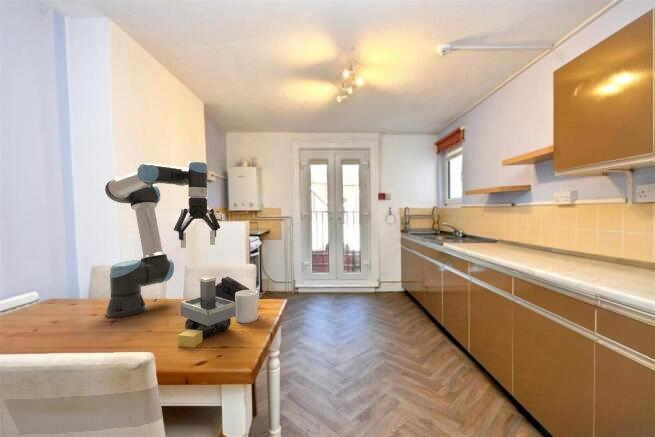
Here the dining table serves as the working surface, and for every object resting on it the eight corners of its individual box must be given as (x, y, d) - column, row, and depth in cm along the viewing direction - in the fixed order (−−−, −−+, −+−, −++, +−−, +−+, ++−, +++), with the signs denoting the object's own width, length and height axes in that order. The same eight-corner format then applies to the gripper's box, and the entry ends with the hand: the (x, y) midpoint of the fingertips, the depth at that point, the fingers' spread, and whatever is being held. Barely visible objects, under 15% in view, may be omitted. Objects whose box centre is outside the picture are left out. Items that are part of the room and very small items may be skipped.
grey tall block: (199, 306, 112) (199, 278, 112) (209, 303, 116) (209, 276, 116) (206, 308, 110) (205, 279, 110) (216, 305, 114) (216, 277, 113)
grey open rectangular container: (179, 331, 113) (179, 302, 113) (209, 321, 124) (209, 294, 123) (206, 343, 103) (206, 311, 102) (236, 330, 113) (236, 301, 113)
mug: (231, 322, 122) (230, 295, 122) (244, 312, 134) (244, 287, 133) (251, 324, 120) (251, 296, 120) (263, 314, 132) (263, 288, 132)
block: (178, 346, 101) (178, 335, 101) (187, 340, 106) (187, 329, 106) (193, 347, 100) (193, 336, 100) (202, 341, 105) (202, 330, 105)
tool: (209, 299, 145) (224, 273, 145) (243, 317, 146) (258, 291, 146) (205, 303, 138) (221, 276, 139) (240, 321, 140) (256, 295, 140)
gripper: (173, 196, 113) (174, 249, 114) (227, 198, 134) (228, 244, 135) (164, 196, 118) (164, 248, 118) (217, 198, 138) (218, 243, 139)
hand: (198, 246), depth 126 cm, fingers open, 13 cm apart
